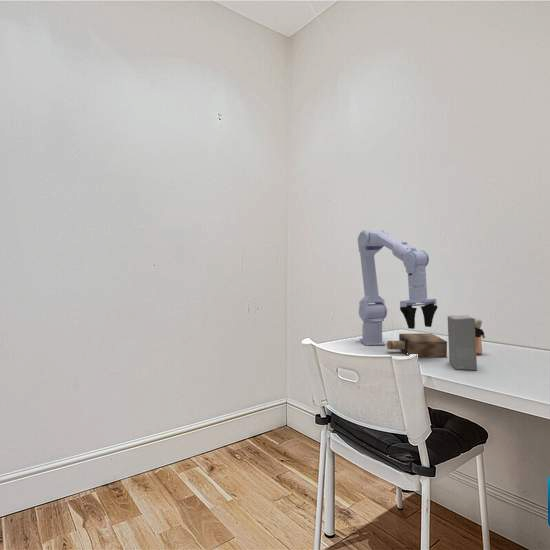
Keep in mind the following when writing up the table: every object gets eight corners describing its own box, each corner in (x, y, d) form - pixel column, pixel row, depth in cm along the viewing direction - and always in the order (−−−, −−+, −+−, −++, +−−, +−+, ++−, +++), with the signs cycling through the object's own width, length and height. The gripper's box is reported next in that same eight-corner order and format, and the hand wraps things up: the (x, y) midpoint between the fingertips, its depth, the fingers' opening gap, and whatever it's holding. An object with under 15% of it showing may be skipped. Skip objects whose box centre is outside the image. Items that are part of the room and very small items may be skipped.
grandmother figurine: (475, 357, 140) (475, 319, 139) (464, 354, 143) (465, 318, 142) (488, 353, 144) (489, 317, 143) (477, 351, 147) (478, 316, 146)
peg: (389, 350, 145) (389, 341, 145) (386, 348, 148) (386, 339, 148) (423, 350, 145) (423, 341, 144) (420, 348, 148) (420, 339, 148)
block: (409, 357, 139) (409, 341, 139) (397, 347, 153) (397, 333, 153) (446, 357, 139) (447, 341, 139) (431, 347, 153) (431, 333, 153)
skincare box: (477, 370, 123) (478, 318, 123) (452, 369, 125) (452, 318, 124) (469, 363, 132) (470, 314, 131) (446, 362, 133) (446, 313, 132)
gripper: (410, 287, 131) (412, 330, 130) (442, 285, 137) (445, 326, 136) (394, 287, 137) (396, 328, 136) (426, 286, 143) (428, 325, 143)
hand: (420, 327), depth 137 cm, fingers open, 7 cm apart
